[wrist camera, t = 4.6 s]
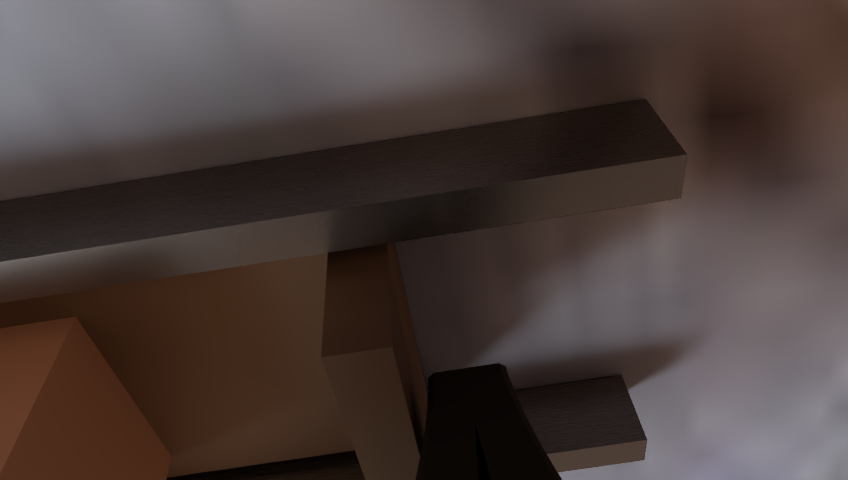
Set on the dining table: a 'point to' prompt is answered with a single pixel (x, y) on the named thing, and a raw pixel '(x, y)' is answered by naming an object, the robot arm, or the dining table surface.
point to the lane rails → (363, 235)
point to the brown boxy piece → (264, 360)
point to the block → (69, 411)
